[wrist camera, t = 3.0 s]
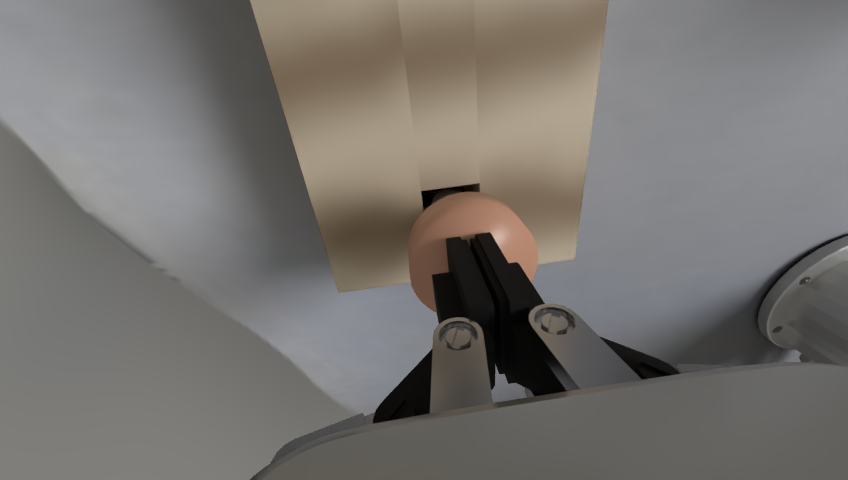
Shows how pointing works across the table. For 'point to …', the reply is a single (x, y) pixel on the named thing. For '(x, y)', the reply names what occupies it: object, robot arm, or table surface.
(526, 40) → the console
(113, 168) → the table surface
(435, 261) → the terracotta button
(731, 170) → the table surface
